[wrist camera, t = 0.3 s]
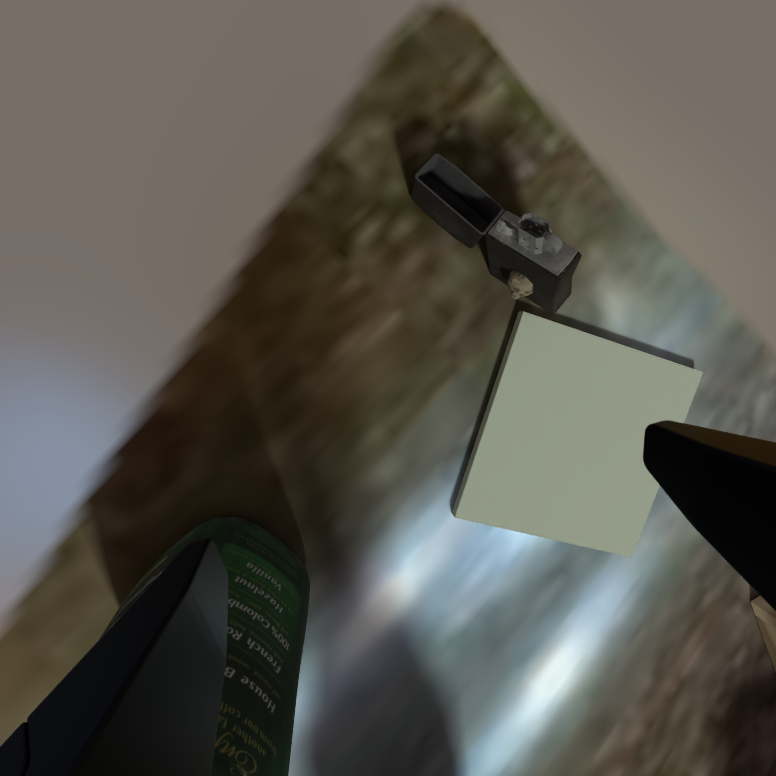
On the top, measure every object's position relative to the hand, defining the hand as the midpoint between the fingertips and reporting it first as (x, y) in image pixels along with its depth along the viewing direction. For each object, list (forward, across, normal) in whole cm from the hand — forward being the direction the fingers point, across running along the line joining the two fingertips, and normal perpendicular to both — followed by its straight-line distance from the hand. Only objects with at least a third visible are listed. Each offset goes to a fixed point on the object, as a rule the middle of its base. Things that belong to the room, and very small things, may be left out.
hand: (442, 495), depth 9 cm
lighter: (+16, -7, -2) cm, 18 cm away
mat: (+14, -11, +10) cm, 20 cm away
